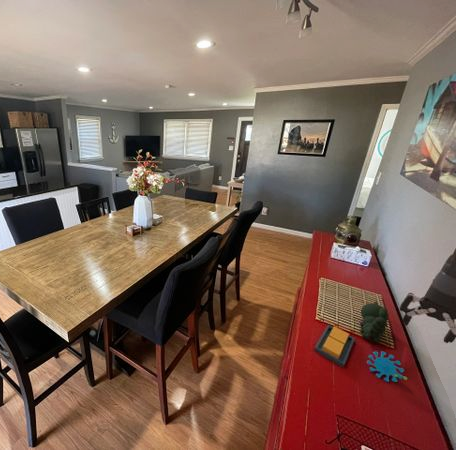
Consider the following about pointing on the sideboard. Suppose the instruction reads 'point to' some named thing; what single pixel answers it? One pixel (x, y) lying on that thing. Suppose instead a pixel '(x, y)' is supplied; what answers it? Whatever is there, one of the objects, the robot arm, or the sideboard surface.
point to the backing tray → (344, 352)
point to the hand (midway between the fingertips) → (424, 332)
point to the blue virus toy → (386, 367)
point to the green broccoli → (373, 321)
